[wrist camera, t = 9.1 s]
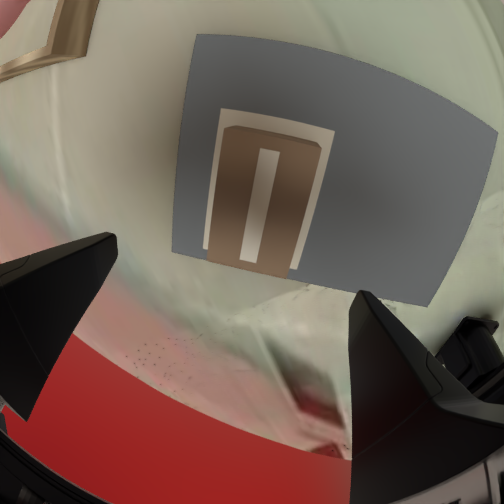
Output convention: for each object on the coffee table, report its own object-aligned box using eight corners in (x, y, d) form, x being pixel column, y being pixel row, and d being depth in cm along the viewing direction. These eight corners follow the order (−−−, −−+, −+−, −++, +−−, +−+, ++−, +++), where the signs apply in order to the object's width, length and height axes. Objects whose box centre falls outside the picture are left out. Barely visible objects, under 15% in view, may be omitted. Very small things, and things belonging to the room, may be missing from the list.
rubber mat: (494, 131, 12) (499, 132, 12) (425, 303, 20) (427, 307, 20) (199, 35, 13) (196, 33, 12) (174, 248, 21) (171, 252, 21)
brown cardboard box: (287, 254, 19) (286, 279, 17) (218, 239, 19) (206, 261, 17) (316, 142, 15) (322, 148, 12) (235, 125, 15) (223, 128, 13)
